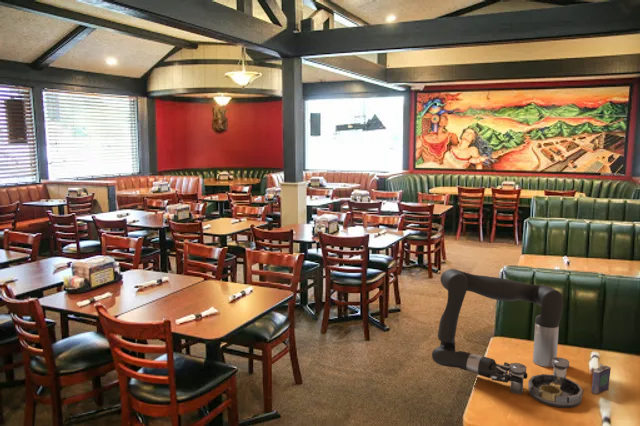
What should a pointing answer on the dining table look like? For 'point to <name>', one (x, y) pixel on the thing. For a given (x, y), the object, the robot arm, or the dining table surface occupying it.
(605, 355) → the dining table surface
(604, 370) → the flask
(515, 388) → the silver capped cylinder
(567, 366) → the carrier
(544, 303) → the robot arm
